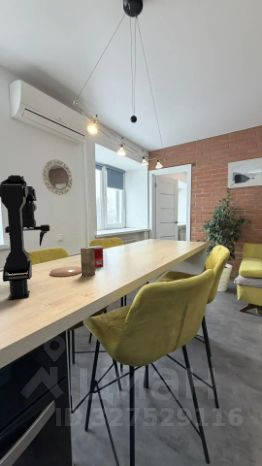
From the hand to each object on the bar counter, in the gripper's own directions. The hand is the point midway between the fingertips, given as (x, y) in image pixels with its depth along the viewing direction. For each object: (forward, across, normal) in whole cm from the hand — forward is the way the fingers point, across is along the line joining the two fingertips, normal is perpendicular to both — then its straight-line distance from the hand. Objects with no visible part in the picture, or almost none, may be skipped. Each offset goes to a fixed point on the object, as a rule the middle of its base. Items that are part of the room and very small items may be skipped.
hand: (29, 246), depth 105 cm
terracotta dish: (+14, -16, -1) cm, 22 cm away
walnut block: (+14, -26, +8) cm, 31 cm away
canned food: (+15, -32, -10) cm, 37 cm away
